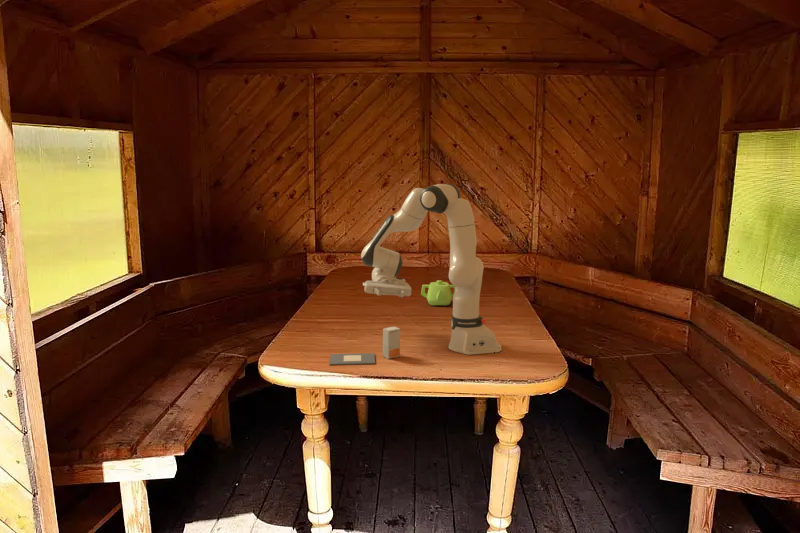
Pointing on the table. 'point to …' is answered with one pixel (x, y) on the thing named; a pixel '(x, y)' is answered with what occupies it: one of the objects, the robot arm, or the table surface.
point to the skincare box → (391, 342)
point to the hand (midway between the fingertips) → (390, 294)
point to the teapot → (438, 293)
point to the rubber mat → (352, 359)
